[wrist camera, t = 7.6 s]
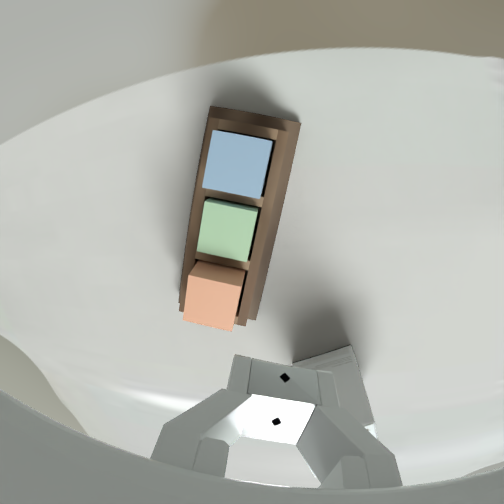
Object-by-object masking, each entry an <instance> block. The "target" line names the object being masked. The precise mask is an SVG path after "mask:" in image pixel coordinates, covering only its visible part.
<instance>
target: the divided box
mask: <svg viewBox="0 0 504 504" xmlns="http://www.w3.org/2000/svg"><path fill="white" fill-rule="evenodd" d="M300 126H301V123H299V122H294V121H290V120H285V119H281V118H276V117H271V116H266V115H261V114H256V113H250V112H245V111H239V110H233V109H227V108H221V107H214V106H210V109H209V114H208V119H207V124H206V129H205V134H204V139H203V144H202V149H201V154H200V160H199V165H198V171H197V176H196V182H195V188H194V194H193V200H192V206H191V213H190V219H189V226H188V233H187V240H186V247H185V254H184V261H183V269H182V277H181V285H180V294H179V302H178V303H180V307H179V311H181V312H184V307H185V298H186V290H187V283H188V275H189V274H190V272H191V271H192V269H193V268H194V266H195V265H196V263H197V262H198V260H204V261H208V262H213V263H217V264H222V265H226V266H231V267H235V268H240V269H245V275H244V280H243V284H242V289H241V294H240V299H239V303H238V308H237V312H236V316H235V321H234V324H237V325H241V326H246V322H247V319H252V320H256V317H257V313H258V309H259V305H260V301H261V297H262V293H263V288H264V284H265V280H266V276H267V272H268V268H269V263H270V259H271V255H272V251H273V246H274V242H275V238H276V234H277V229H278V225H279V221H280V216H281V212H282V207H283V203H284V199H285V194H286V190H287V185H288V181H289V176H290V172H291V168H292V163H293V158H294V154H295V149H296V145H297V140H298V136H299V131H300ZM213 130H216V131H222V132H227V133H233V134H239V135H244V136H249V137H255V138H260V139H265V140H269V141H272V148H271V152H270V157H269V162H268V166H267V171H266V176H265V181H264V185H263V190H262V194H261V197H260V199H257V198H252V197H247V196H242V195H238V194H233V193H228V192H223V191H218V190H212V189H207V188H202V185H203V179H204V174H205V168H206V163H207V157H208V152H209V147H210V142H211V137H212V132H213ZM210 197H214V198H219V199H224V200H229V201H234V202H239V203H244V204H249V205H253V206H258V207H259V210H258V215H257V220H256V224H255V229H254V234H253V238H252V243H251V248H250V252H249V256H248V259H247V262H244V261H239V260H234V259H230V258H225V257H221V256H216V255H211V254H207V253H202V252H198V251H197V246H198V239H199V233H200V227H201V220H202V214H203V208H204V203H205V201H206V200H207V199H209V198H210Z"/></svg>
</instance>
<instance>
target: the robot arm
mask: <svg viewBox="0 0 504 504" xmlns="http://www.w3.org/2000/svg"><path fill="white" fill-rule="evenodd" d="M240 436H243V437H249V438H256V439H263V440H270V441H276V442H283V443H289V444H296V446H297V448H298V450H299V451H300V453H301V454H302V456H303V457H304V459H305V460H306V462H307V463H308V465H309V466H310V468H311V469H312V471H313V472H314V474H315V475H316V477H317V478H318V479H319V481H320V482H321V485H320V487H319V488H300V487H288V486H278V485H269V484H261V483H254V482H247V481H241V480H235V479H230V478H224V476H225V470H226V464H227V458H228V452H229V447H230V446H231V445H232V444H234V443H235V442H236V441H237V440H238V439H239V438H240ZM0 504H504V467H502V468H498V469H495V470H491V471H487V472H483V473H479V474H475V475H470V476H466V477H461V478H456V479H451V480H445V481H439V482H433V483H426V484H418V485H410V486H403V485H402V481H401V478H400V474H399V470H398V467H397V463H396V459H395V456H394V454H393V453H392V452H390V451H389V450H388V449H387V448H386V447H385V446H384V445H383V444H382V443H381V442H380V441H379V440H377V439H376V438H375V437H374V436H373V435H372V434H371V433H370V432H369V431H368V430H367V429H366V428H365V427H364V426H363V425H361V424H360V423H359V422H358V421H357V420H356V419H355V418H354V417H353V416H352V415H351V414H350V413H349V412H348V411H347V410H346V409H345V408H340V406H339V401H338V396H337V391H336V387H335V382H334V377H333V373H332V372H331V371H324V370H312V369H305V368H299V367H293V366H287V365H283V364H278V363H273V362H268V361H264V360H259V359H254V358H252V359H251V358H250V357H245V356H240V355H236V354H235V356H234V359H233V363H232V368H231V372H230V376H229V381H228V385H227V390H226V389H221V390H219V391H217V392H216V393H214V394H213V395H211V396H210V397H208V398H207V399H205V400H203V401H202V402H200V403H199V404H197V405H195V406H194V407H192V408H190V409H189V410H187V411H186V412H184V413H182V414H181V415H179V416H177V417H176V418H174V419H172V420H171V421H169V422H167V423H165V424H164V425H163V428H162V430H161V433H160V435H159V438H158V440H157V443H156V445H155V448H154V450H153V453H152V455H151V458H150V459H149V458H146V457H143V456H140V455H137V454H134V453H131V452H128V451H126V450H123V449H120V448H118V447H115V446H112V445H110V444H107V443H105V442H102V441H100V440H97V439H95V438H93V437H90V436H88V435H85V434H83V433H81V432H79V431H77V430H74V429H72V428H70V427H68V426H66V425H64V424H62V423H60V422H58V421H56V420H54V419H52V418H50V417H48V416H46V415H44V414H42V413H40V412H39V411H37V410H35V409H33V408H31V407H29V406H28V405H26V404H24V403H23V402H21V401H19V400H18V399H16V398H14V397H13V396H11V395H9V394H8V393H6V392H5V391H3V390H2V389H0Z"/></svg>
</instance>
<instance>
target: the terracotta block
mask: <svg viewBox="0 0 504 504" xmlns="http://www.w3.org/2000/svg"><path fill="white" fill-rule="evenodd" d="M244 275H245V269H240V268H235V267H231V266H226V265H222V264H217V263H213V262H208V261H204V260H198V262H197V263H196V265H195V266H194V268H193V269H192V271H191V272H190V274H189V275H188V283H187V290H186V298H185V307H184V315H183V320H185V321H189V322H193V323H197V324H201V325H205V326H210V327H214V328H218V329H223V330H227V331H232V329H233V325H234V321H235V316H236V312H237V308H238V303H239V299H240V294H241V289H242V284H243V280H244Z"/></svg>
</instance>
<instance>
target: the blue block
mask: <svg viewBox="0 0 504 504" xmlns="http://www.w3.org/2000/svg"><path fill="white" fill-rule="evenodd" d="M271 148H272V141H269V140H265V139H260V138H255V137H249V136H244V135H239V134H233V133H227V132H222V131H216V130H213V132H212V137H211V142H210V147H209V152H208V157H207V163H206V168H205V174H204V179H203V185H202V188H207V189H212V190H218V191H223V192H228V193H233V194H238V195H242V196H247V197H252V198H257V199H260V197H261V194H262V190H263V185H264V181H265V176H266V171H267V166H268V162H269V157H270V152H271Z"/></svg>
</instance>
